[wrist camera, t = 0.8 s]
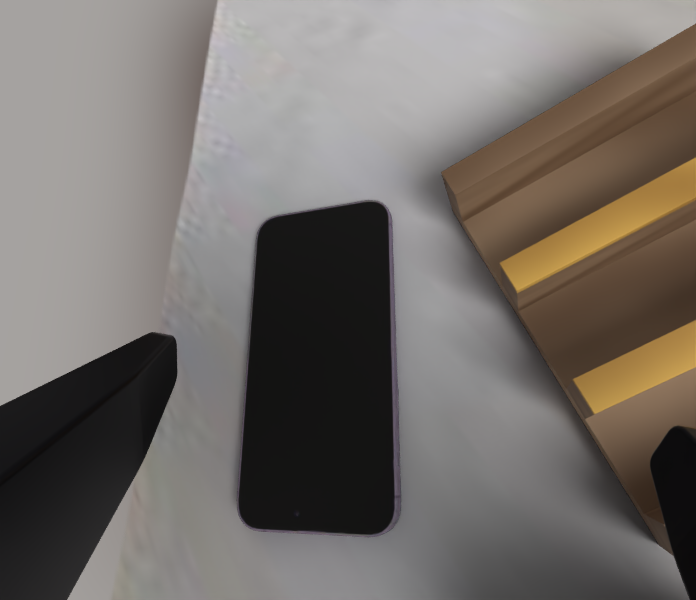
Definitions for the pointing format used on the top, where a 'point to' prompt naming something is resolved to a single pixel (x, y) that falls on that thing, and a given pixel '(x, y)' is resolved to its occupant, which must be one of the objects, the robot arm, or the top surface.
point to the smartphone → (322, 376)
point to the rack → (603, 251)
